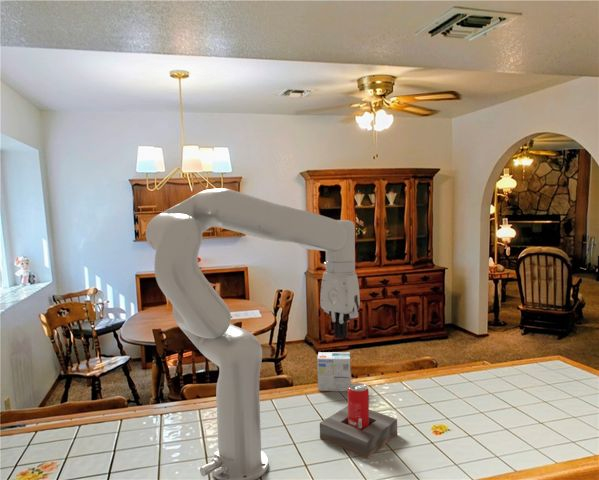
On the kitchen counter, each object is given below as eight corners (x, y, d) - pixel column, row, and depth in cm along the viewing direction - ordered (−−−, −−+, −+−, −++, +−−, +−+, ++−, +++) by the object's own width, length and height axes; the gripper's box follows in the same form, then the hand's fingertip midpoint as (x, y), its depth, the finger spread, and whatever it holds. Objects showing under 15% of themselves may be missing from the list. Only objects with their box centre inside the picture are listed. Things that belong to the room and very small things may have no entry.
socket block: (366, 458, 99) (366, 442, 99) (319, 438, 108) (319, 422, 108) (397, 434, 109) (397, 419, 109) (352, 417, 119) (351, 403, 118)
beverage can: (344, 430, 110) (343, 385, 109) (361, 425, 112) (361, 381, 111) (355, 440, 105) (354, 392, 104) (373, 435, 107) (372, 388, 106)
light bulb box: (350, 383, 142) (350, 351, 141) (351, 392, 135) (350, 358, 134) (318, 382, 143) (318, 351, 142) (317, 391, 136) (316, 358, 135)
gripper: (309, 266, 114) (310, 334, 115) (354, 271, 103) (354, 346, 105) (327, 264, 119) (328, 329, 120) (372, 268, 109) (372, 339, 110)
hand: (340, 336), depth 113 cm, fingers closed
